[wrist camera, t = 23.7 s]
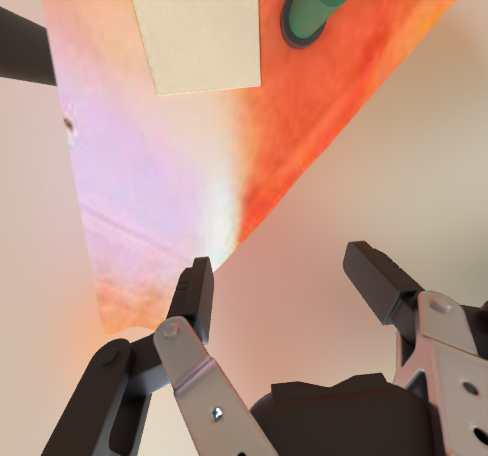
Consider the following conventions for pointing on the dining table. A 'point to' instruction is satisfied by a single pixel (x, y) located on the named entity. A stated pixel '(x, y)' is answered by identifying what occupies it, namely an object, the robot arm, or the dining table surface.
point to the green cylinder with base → (305, 20)
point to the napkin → (200, 44)
